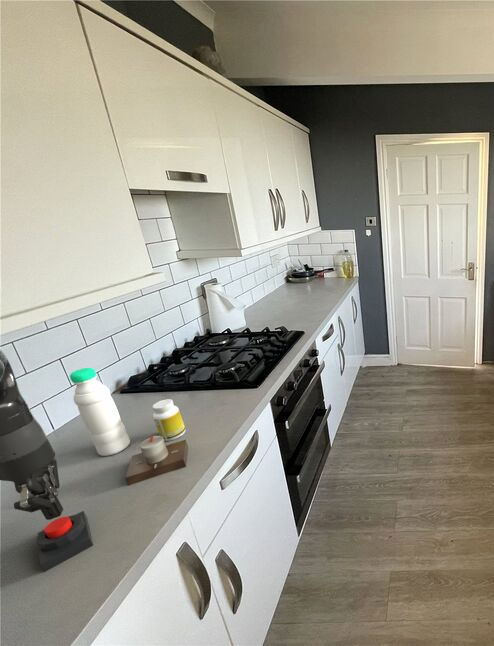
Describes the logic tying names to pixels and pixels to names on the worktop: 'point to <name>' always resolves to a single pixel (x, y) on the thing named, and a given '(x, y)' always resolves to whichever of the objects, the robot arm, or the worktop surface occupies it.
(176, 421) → the pill bottle
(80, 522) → the switch block
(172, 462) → the dimmer panel
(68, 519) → the light button
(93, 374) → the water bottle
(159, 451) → the dimmer knob
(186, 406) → the worktop surface
